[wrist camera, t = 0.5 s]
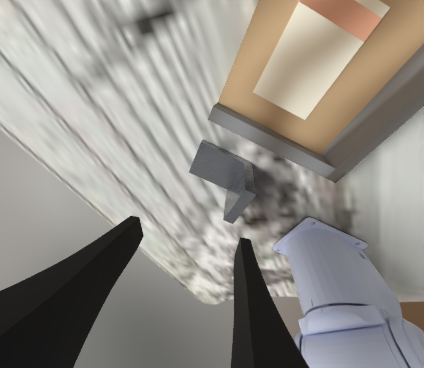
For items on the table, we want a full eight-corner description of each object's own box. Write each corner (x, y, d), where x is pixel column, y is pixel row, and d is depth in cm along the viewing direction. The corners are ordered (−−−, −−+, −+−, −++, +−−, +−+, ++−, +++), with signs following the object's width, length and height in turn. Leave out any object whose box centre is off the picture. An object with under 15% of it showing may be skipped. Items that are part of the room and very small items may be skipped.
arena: (470, 7, 9) (575, -28, 6) (317, 164, 16) (335, 182, 13) (304, -111, 8) (340, -220, 5) (214, 112, 15) (208, 119, 12)
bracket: (251, 162, 17) (256, 194, 12) (234, 188, 19) (232, 223, 15) (202, 139, 17) (187, 163, 12) (191, 168, 19) (173, 198, 14)
